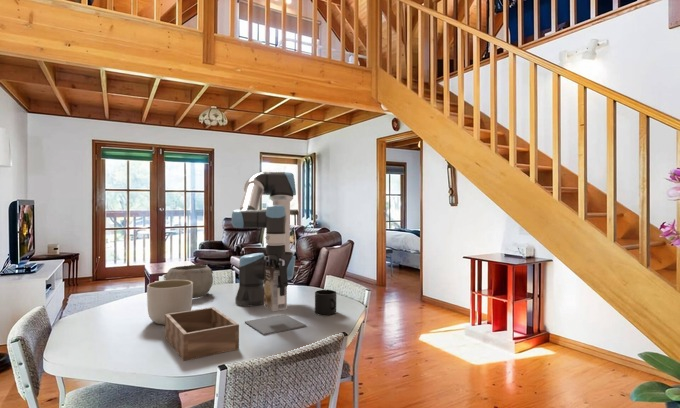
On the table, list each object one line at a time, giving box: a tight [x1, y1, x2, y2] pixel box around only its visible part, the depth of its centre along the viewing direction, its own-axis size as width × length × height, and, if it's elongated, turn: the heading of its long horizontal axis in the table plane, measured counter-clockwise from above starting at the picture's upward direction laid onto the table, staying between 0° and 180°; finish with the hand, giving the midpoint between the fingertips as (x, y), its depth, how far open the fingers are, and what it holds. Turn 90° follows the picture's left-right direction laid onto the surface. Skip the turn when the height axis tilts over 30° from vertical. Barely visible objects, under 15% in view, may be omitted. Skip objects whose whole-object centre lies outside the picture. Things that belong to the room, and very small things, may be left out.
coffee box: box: [263, 266, 288, 312], centre depth 156 cm, size 9×6×16 cm
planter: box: [146, 279, 193, 326], centre depth 160 cm, size 17×17×15 cm
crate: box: [164, 306, 240, 361], centre depth 136 cm, size 26×17×8 cm, turn 35°
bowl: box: [164, 264, 214, 299], centre depth 203 cm, size 23×23×15 cm
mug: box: [314, 289, 337, 316], centre depth 173 cm, size 9×12×9 cm
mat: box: [244, 313, 308, 336], centre depth 157 cm, size 18×18×1 cm
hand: (275, 301), depth 156 cm, fingers closed on coffee box, 9 cm apart
